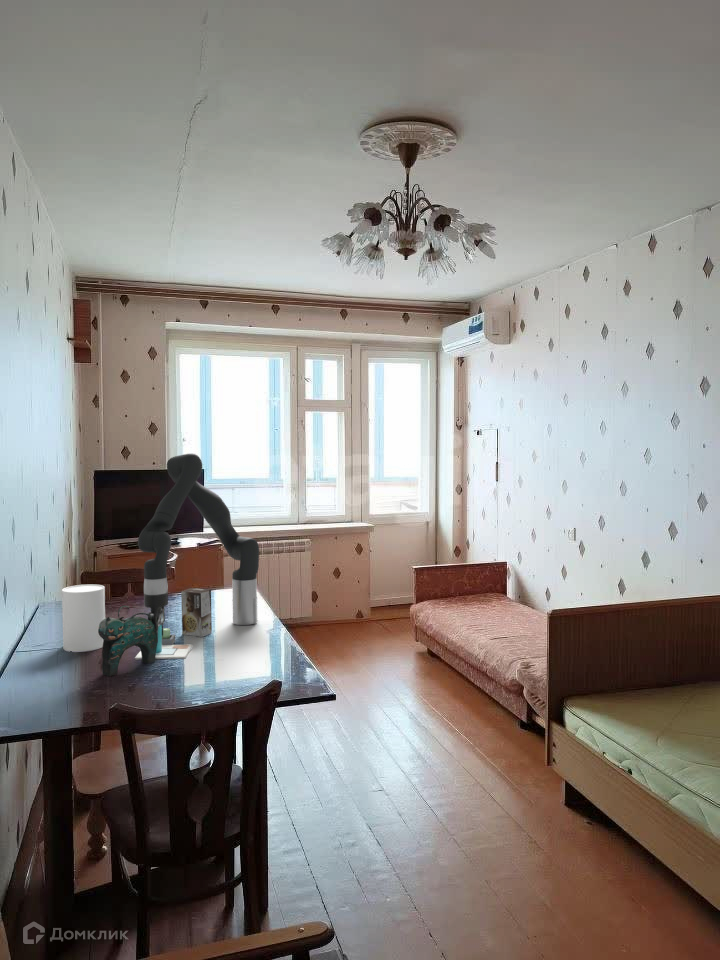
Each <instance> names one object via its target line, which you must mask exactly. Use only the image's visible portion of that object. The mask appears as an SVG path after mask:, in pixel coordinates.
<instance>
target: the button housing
mask: <svg viewBox="0 0 720 960" xmlns="http://www.w3.org/2000/svg"><path fill="white" fill-rule="evenodd" d="M175 642H176V634H170V639H162V645H175Z"/></svg>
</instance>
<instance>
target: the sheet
mask: <svg viewBox="0 0 720 960" xmlns="http://www.w3.org/2000/svg"><path fill="white" fill-rule="evenodd" d="M193 645H194V644H189V643H188V644H173V645H162V652H160V653H156V655H155V660H173V659H178V660H179V659H186V658H187V657H188V655H189V653H190V651H191V650H192V648H193ZM134 660H136V661H137V660H142V654H141V650H140V651H139V652H138V653H137V655H135V657H134Z"/></svg>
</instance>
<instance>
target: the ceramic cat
mask: <svg viewBox="0 0 720 960" xmlns="http://www.w3.org/2000/svg"><path fill="white" fill-rule="evenodd" d="M122 608H127V610H130V607H129V606H128V605H122V606H120V607H119V609H118V611H117V617H118V618H113V617H109V616H108V617H105V619H104V620H102V621H101V622H100V624H99V629H98V633H99V635H100V637H101V638H102V639H103V647H102V649H101V651H102V652H101V657H102V662H101V663H102V664H101V667H102V668H101V669H102V671H101V672H102V675H105V676H107V675H108V676H107V677H112V676H111V675H113V676H116V675H117V674H118V669H119V664H120V662H121V659H122V656H123V655H124V654H125V652H126V650H128V649H130V648H132V647H134V646H135V647H137V648H138V647H139V649H140V651H141V654H142V659H141V662H142V663H145V664H152V663H154V662H155V661H156V659H155V655H156V649H157V633H156V630H155V627H154V625H153V624H152V620H151V617H150V615H149V614H148V613H146V612H138V613H135V614H133V615H131V616H128V617H126V618H125V616H120V612H121V611H120V610H121V609H122ZM139 615H145V616H147V618H145V617H141V616H139ZM148 617H149V618H150V621H149V620H148ZM115 674H116V675H115Z"/></svg>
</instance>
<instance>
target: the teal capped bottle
mask: <svg viewBox="0 0 720 960" xmlns="http://www.w3.org/2000/svg"><path fill="white" fill-rule="evenodd" d="M160 652H162V621H160V626H158V643H157V649H156V653H160Z"/></svg>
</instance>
